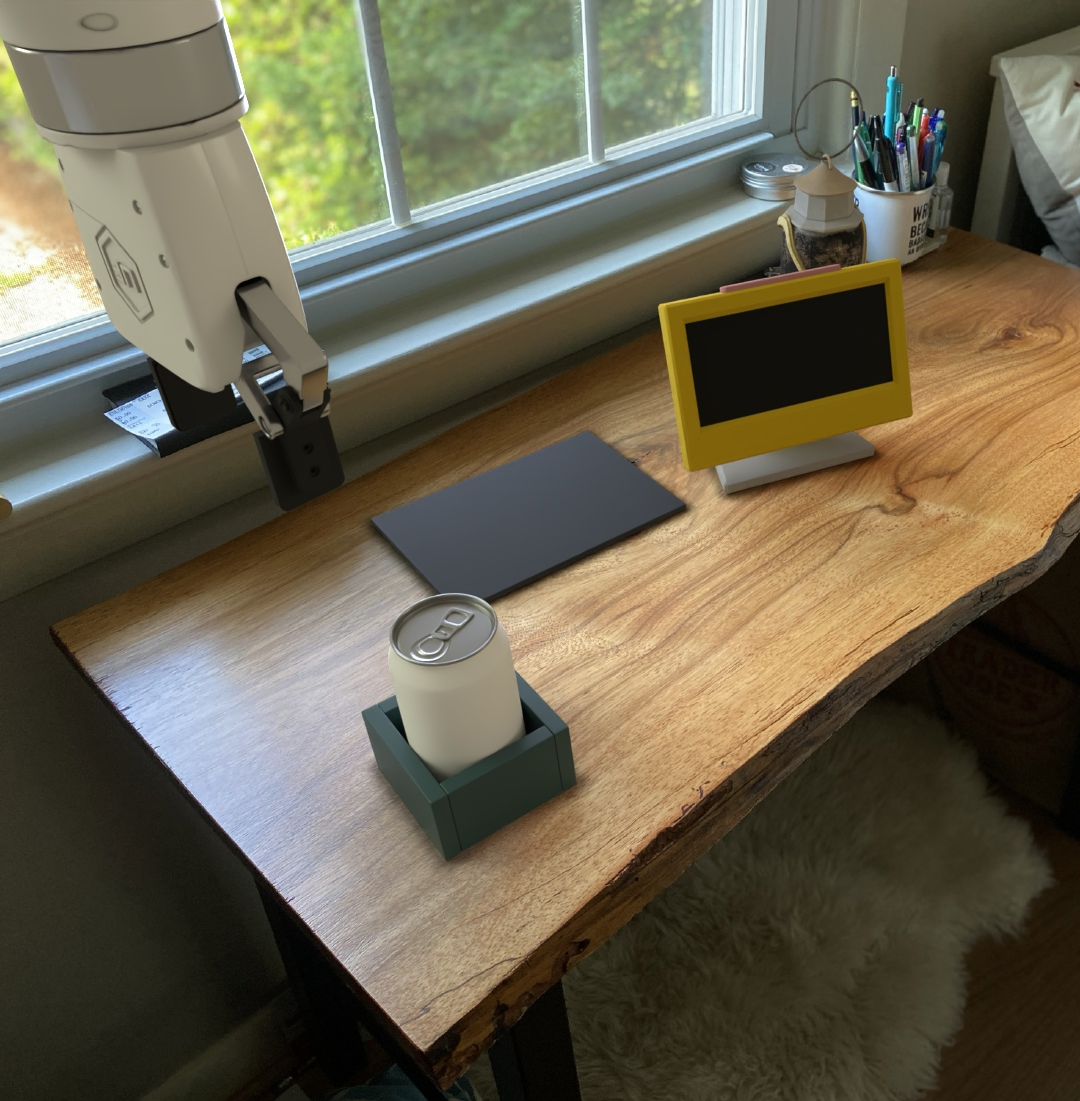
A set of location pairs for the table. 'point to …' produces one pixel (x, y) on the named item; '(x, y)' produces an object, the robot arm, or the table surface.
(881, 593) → the table surface
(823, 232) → the lantern
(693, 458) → the yellow framed monitor
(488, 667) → the can
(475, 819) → the box
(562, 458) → the mat
